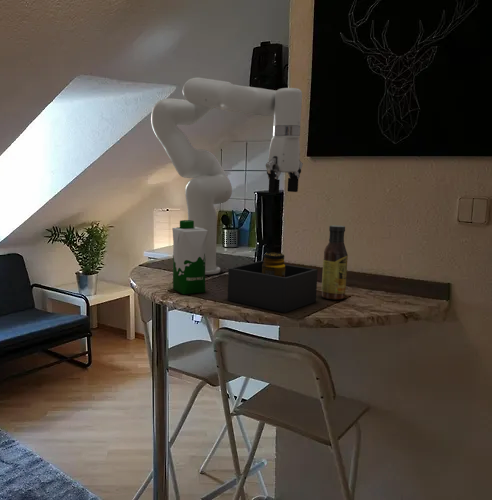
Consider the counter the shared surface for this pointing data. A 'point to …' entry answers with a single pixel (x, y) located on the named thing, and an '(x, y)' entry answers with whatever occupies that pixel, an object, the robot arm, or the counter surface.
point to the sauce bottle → (335, 265)
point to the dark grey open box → (272, 287)
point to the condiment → (274, 264)
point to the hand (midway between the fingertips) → (283, 192)
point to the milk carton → (189, 258)
